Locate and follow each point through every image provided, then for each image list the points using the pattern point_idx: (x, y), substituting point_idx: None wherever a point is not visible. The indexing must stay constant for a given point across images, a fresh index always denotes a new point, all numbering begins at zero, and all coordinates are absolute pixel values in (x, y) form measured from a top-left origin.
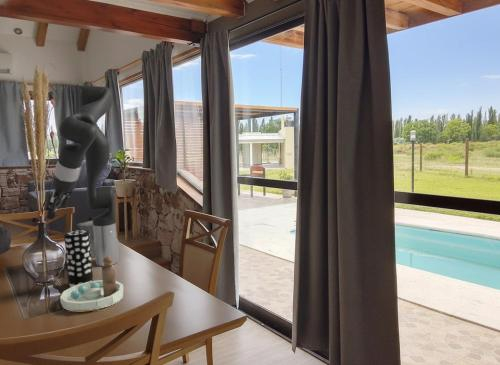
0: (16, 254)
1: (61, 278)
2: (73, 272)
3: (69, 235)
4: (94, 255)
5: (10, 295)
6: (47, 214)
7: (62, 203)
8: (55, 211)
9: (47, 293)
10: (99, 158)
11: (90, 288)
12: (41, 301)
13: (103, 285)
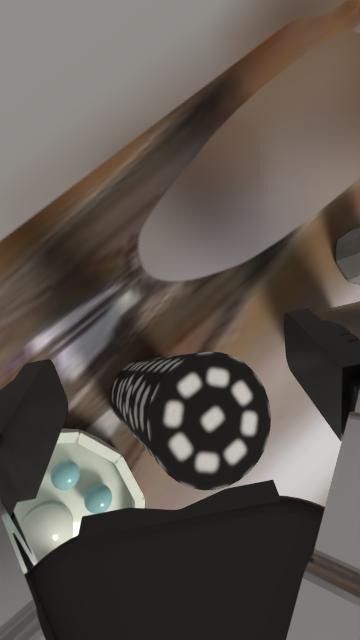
0: (313, 41)
1: (185, 290)
2: (118, 406)
3: (147, 427)
4: (347, 273)
5: (41, 229)
6: (12, 384)
7: (298, 357)
8: (23, 496)
9: (74, 331)
10: None
11: (109, 464)
12: (12, 359)
13: None
